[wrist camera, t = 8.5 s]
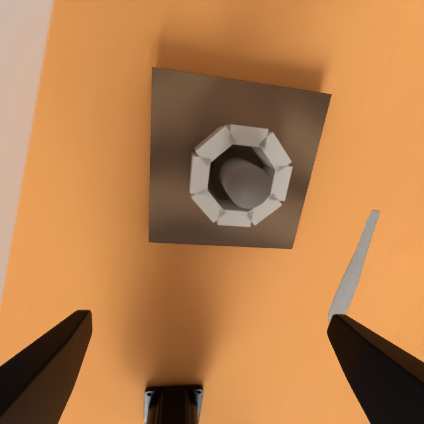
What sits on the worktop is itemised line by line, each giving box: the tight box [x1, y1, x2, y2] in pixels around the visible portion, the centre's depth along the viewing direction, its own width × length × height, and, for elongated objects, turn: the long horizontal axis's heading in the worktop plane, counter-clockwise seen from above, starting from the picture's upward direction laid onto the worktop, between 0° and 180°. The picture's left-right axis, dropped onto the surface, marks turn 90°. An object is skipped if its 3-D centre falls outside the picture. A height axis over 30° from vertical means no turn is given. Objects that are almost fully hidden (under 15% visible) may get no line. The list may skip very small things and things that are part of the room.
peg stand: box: [149, 67, 332, 249], centre depth 15 cm, size 12×12×6 cm
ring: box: [189, 124, 293, 227], centre depth 16 cm, size 6×6×2 cm
